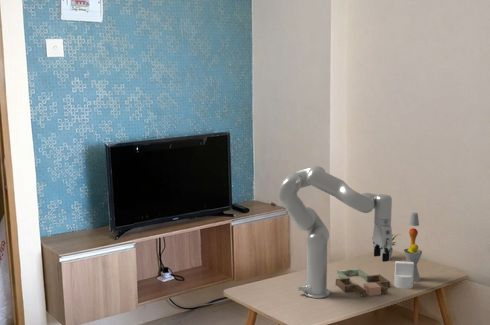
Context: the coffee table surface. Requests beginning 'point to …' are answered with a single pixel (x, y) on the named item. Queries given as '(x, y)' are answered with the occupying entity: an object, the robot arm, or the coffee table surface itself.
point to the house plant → (391, 249)
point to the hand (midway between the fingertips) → (381, 258)
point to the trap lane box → (347, 287)
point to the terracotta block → (372, 289)
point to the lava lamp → (413, 247)
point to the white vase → (403, 274)
